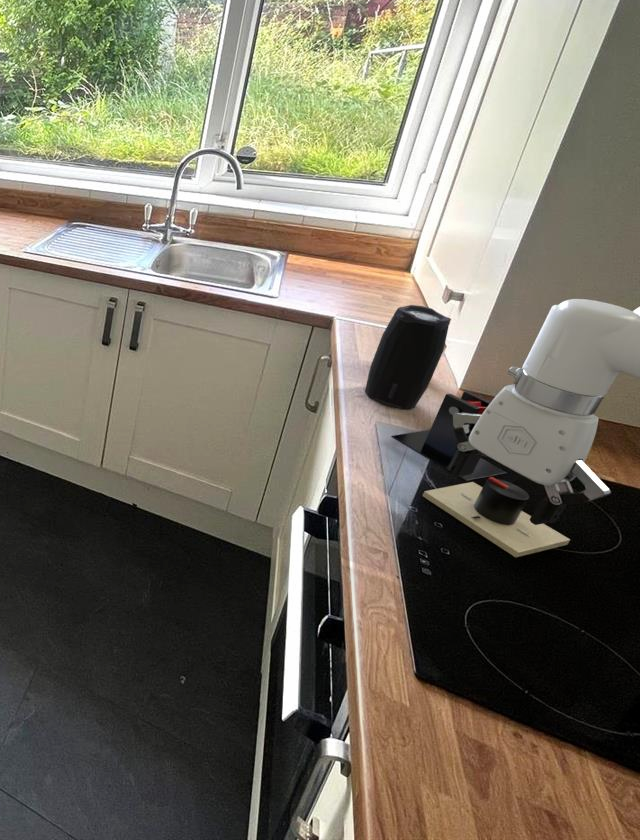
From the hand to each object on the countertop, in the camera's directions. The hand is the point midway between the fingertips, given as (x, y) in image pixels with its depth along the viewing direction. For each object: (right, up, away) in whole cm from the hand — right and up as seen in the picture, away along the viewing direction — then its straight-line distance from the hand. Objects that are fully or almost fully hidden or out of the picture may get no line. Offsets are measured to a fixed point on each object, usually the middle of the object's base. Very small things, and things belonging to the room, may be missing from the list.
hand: (498, 496), depth 82 cm
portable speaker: (+10, +7, +32) cm, 34 cm away
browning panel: (0, -5, +2) cm, 5 cm away
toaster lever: (+8, +9, +7) cm, 14 cm away
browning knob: (0, -3, +1) cm, 3 cm away
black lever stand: (+6, +1, +16) cm, 17 cm away
